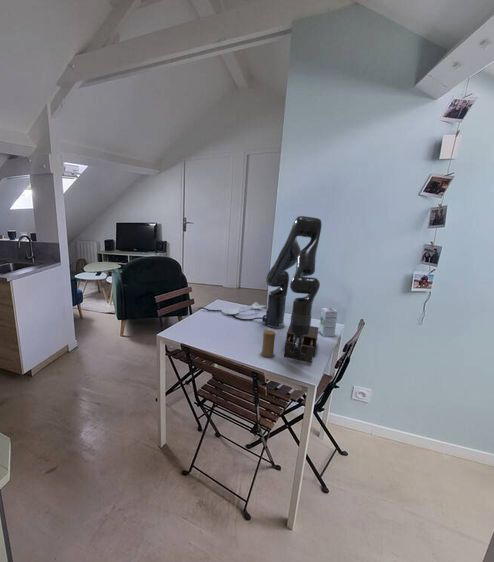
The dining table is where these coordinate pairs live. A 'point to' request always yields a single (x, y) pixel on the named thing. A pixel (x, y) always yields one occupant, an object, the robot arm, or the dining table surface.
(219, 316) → the dining table surface
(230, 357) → the dining table surface
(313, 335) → the cabinet
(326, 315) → the syrup box
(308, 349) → the drawer
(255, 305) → the spoon
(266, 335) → the tan wooden cylinder
